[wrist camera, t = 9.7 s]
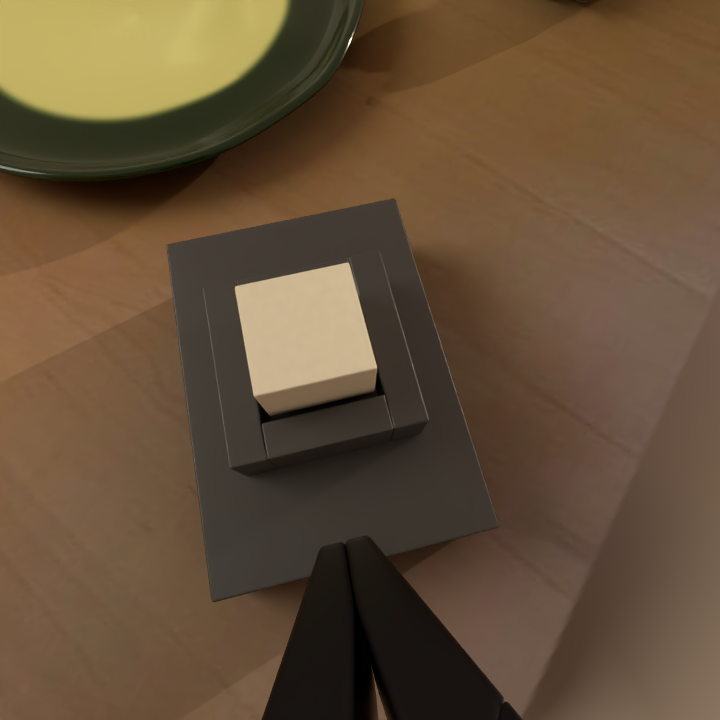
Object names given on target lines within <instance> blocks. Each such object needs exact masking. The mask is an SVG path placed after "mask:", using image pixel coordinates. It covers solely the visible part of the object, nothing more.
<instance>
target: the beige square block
mask: <svg viewBox="0 0 720 720" xmlns="http://www.w3.org/2000/svg"><path fill="white" fill-rule="evenodd" d="M235 293H236V298H237V304H238V310H239V315H240V321H241V327H242V333H243V338H244V344H245V350H246V355H247V361H248V367H249V373H250V378H251V384H252V390H253V395H254V397H255V398H256V400H257V401H258V402H259V403H260V404H261V406H262V407H263V408H264V409H265V411H266V412H267V413H268V414H269V416H273V415H277V414H282V413H286V412H290V411H294V410H299V409H303V408H307V407H312V406H316V405H320V404H324V403H329V402H333V401H337V400H341V399H346V398H350V397H354V396H359V395H363V394H367V393H371V392H374V391H375V382H376V373H377V365H376V361H375V358H374V354H373V350H372V346H371V343H370V339H369V335H368V331H367V328H366V324H365V320H364V316H363V313H362V309H361V305H360V301H359V298H358V294H357V290H356V286H355V283H354V279H353V275H352V271H351V268H350V264H349V263H343V264H339V265H334V266H329V267H324V268H320V269H315V270H310V271H305V272H301V273H296V274H291V275H287V276H282V277H277V278H272V279H268V280H263V281H258V282H254V283H249V284H244V285H239V286H236V287H235Z"/></svg>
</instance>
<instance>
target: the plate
mask: <svg viewBox="0 0 720 720" xmlns="http://www.w3.org/2000/svg"><path fill="white" fill-rule="evenodd" d="M363 4H364V0H0V172H1V173H5V174H10V175H15V176H20V177H26V178H33V179H41V180H50V181H73V182H83V181H106V180H116V179H125V178H132V177H139V176H145V175H150V174H155V173H160V172H165V171H169V170H173V169H177V168H181V167H185V166H188V165H192V164H195V163H198V162H201V161H204V160H207V159H209V158H212V157H214V156H217V155H219V154H222V153H224V152H226V151H228V150H230V149H232V148H234V147H236V146H238V145H240V144H242V143H244V142H246V141H248V140H249V139H251V138H253V137H255V136H256V135H258V134H260V133H261V132H263V131H265V130H266V129H268V128H269V127H271V126H272V125H274V124H276V123H277V122H279V121H280V120H281V119H283V118H284V117H286V116H287V115H289V114H290V113H291V112H293V111H294V110H296V109H297V108H298V107H300V106H301V105H302V104H304V103H305V102H306V101H308V100H309V99H310V98H311V97H313V96H314V95H315V94H316V93H317V92H318V91H319V90H321V89H322V88H323V87H324V86H325V85H326V83H327V82H328V81H329V80H330V79H331V78H332V76H333V75H334V74H335V72H336V71H337V70H338V68H339V66H340V65H341V63H342V61H343V59H344V57H345V55H346V53H347V51H348V49H349V47H350V45H351V42H352V40H353V37H354V35H355V32H356V30H357V27H358V24H359V21H360V17H361V14H362V9H363Z"/></svg>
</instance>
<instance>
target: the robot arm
mask: <svg viewBox="0 0 720 720" xmlns="http://www.w3.org/2000/svg"><path fill="white" fill-rule="evenodd" d="M372 670H373V671H372ZM373 674H374V677H373ZM374 678H375V681H376V685H377V688H378V692H379V695H380V698H381V702H382V705H383V708H384V711H385V714H386V717H387V720H523V719H522V718H521V717H520V716H519V715H518V713H517V712H516V711H515V710H514V709H513V707H512V706H511V705H510V704H509V703H508V702H504V698H503V696H502V695H501V694H500V692H499V691H498V690H497V689H496V688H495V686H494V685H493V684H492V683H491V682H490V680H489V679H488V678H487V677H486V676H485V674H484V673H483V672H482V671H481V670H480V668H479V667H478V666H477V665H476V664H475V662H474V661H473V660H472V659H471V658H470V656H469V655H468V654H467V653H466V652H465V650H464V649H463V648H462V647H461V646H460V644H459V643H458V642H457V641H456V639H455V638H454V637H453V636H452V635H451V633H450V632H449V631H448V630H447V629H446V627H445V626H444V625H443V624H442V623H441V621H440V620H439V619H438V618H437V617H436V615H435V614H434V613H433V612H432V611H431V609H430V608H429V607H428V606H427V605H426V603H425V602H424V601H423V600H422V599H421V597H420V596H419V595H418V594H417V593H416V591H415V590H414V589H413V588H412V587H411V585H410V584H409V583H408V582H407V581H406V579H405V578H404V577H403V576H402V575H401V573H400V572H399V571H398V570H397V569H396V567H395V566H394V565H393V564H392V563H391V561H390V560H389V559H388V558H387V557H386V555H385V554H384V553H383V552H382V551H381V549H380V548H379V547H378V546H377V545H376V543H375V542H374V541H373V540H372V539H371V538H370V537H369V536H367V535H365V536H361V537H357V538H353V539H349V540H347V541H346V543H345V544H344V543H343V542H338V543H334V544H330V545H326V546H323V547H321V548H320V550H319V552H318V555H317V558H316V561H315V564H314V567H313V570H312V573H311V575H310V578H309V581H308V584H307V587H306V590H305V593H304V596H303V599H302V602H301V605H300V608H299V611H298V614H297V617H296V620H295V623H294V626H293V629H292V632H291V635H290V638H289V641H288V643H287V646H286V649H285V652H284V655H283V658H282V661H281V664H280V667H279V670H278V673H277V676H276V679H275V682H274V685H273V688H272V691H271V694H270V697H269V700H268V703H267V706H266V709H265V712H264V714H263V717H262V720H378V711H377V701H376V692H375V683H374Z"/></svg>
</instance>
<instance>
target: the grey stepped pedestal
mask: <svg viewBox="0 0 720 720" xmlns="http://www.w3.org/2000/svg"><path fill="white" fill-rule="evenodd" d="M167 254H168V262H169V270H170V278H171V285H172V293H173V301H174V309H175V317H176V325H177V333H178V340H179V348H180V356H181V364H182V372H183V380H184V388H185V395H186V403H187V411H188V419H189V427H190V435H191V443H192V450H193V458H194V466H195V474H196V482H197V490H198V498H199V505H200V513H201V521H202V529H203V537H204V545H205V553H206V560H207V568H208V576H209V584H210V592H211V600H212V602H217V601H221V600H225V599H228V598H232V597H236V596H240V595H244V594H248V593H251V592H255V591H259V590H263V589H267V588H270V587H274V586H278V585H282V584H286V583H289V582H293V581H297V580H301V579H305V578H309V577H310V575H311V573H312V570H313V567H314V564H315V561H316V558H317V555H318V552H319V550H320V548H321V547H323V546H326V545H330V544H334V543H338V542H343V543H344V544H345V543H346V541H347V540H349V539H353V538H357V537H361V536H365V535H367V536H369V537H370V538H371V539H372V540H373V541H374V542H375V543H376V545H377V546H378V547H379V548H380V549H381V551H382V552H383V553H384V554H385V555H386V557H389V556H392V555H396V554H400V553H404V552H408V551H411V550H415V549H419V548H423V547H427V546H431V545H434V544H438V543H442V542H446V541H450V540H453V539H457V538H461V537H465V536H469V535H472V534H476V533H480V532H484V531H488V530H492V529H495V528H498V527H499V523H498V520H497V517H496V513H495V510H494V507H493V504H492V501H491V498H490V495H489V491H488V488H487V485H486V482H485V479H484V476H483V473H482V469H481V466H480V463H479V460H478V457H477V454H476V451H475V448H474V444H473V441H472V438H471V435H470V432H469V429H468V426H467V422H466V419H465V416H464V413H463V410H462V407H461V404H460V400H459V397H458V394H457V391H456V388H455V385H454V382H453V378H452V375H451V372H450V369H449V366H448V363H447V360H446V356H445V353H444V350H443V347H442V344H441V341H440V338H439V334H438V331H437V328H436V325H435V322H434V319H433V316H432V312H431V309H430V306H429V303H428V300H427V297H426V294H425V290H424V287H423V284H422V281H421V278H420V275H419V272H418V269H417V265H416V262H415V259H414V256H413V253H412V250H411V247H410V243H409V240H408V237H407V234H406V231H405V228H404V225H403V221H402V218H401V215H400V212H399V209H398V206H397V203H396V200H395V199H389V200H384V201H379V202H374V203H369V204H365V205H360V206H355V207H350V208H345V209H340V210H335V211H330V212H325V213H320V214H315V215H310V216H305V217H300V218H295V219H291V220H286V221H281V222H276V223H271V224H266V225H261V226H256V227H251V228H246V229H241V230H236V231H231V232H226V233H222V234H217V235H212V236H207V237H202V238H197V239H192V240H187V241H182V242H177V243H172V244H168V245H167ZM343 263H349V264H350V268H351V271H352V275H353V279H354V283H355V286H356V290H357V294H358V298H359V301H360V305H361V309H362V313H363V316H364V320H365V324H366V328H367V331H368V335H369V339H370V343H371V346H372V350H373V354H374V358H375V361H376V365H377V373H376V382H375V391H374V392H371V393H367V394H363V395H359V396H354V397H350V398H346V399H341V400H337V401H333V402H329V403H324V404H320V405H316V406H312V407H307V408H303V409H299V410H294V411H290V412H286V413H282V414H277V415H273V416H269V414H268V413H267V412H266V411H265V409H264V408H263V407H262V406H261V404H260V403H259V402H258V401H257V400H256V398H255V397H254V395H253V390H252V384H251V378H250V373H249V367H248V361H247V355H246V350H245V344H244V338H243V333H242V327H241V321H240V315H239V310H238V304H237V298H236V293H235V287H236V286H239V285H244V284H249V283H254V282H258V281H263V280H268V279H272V278H277V277H282V276H287V275H291V274H296V273H301V272H305V271H310V270H315V269H320V268H324V267H329V266H334V265H339V264H343Z"/></svg>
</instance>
